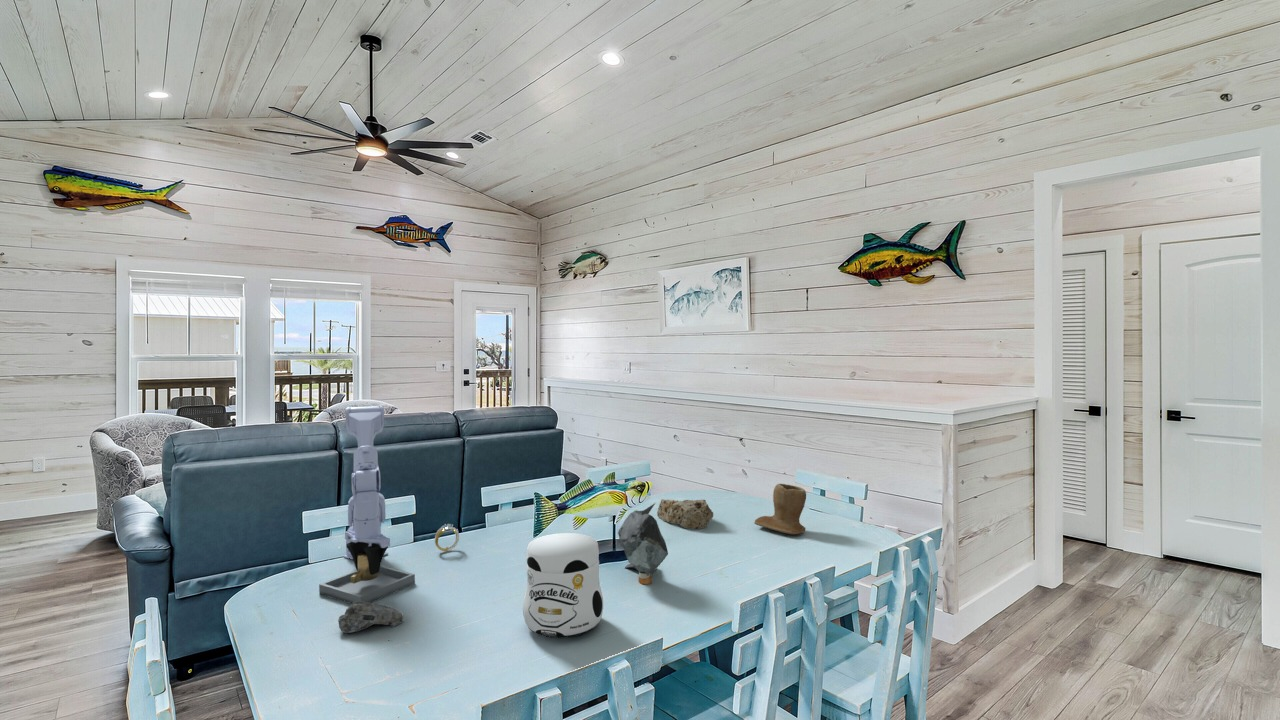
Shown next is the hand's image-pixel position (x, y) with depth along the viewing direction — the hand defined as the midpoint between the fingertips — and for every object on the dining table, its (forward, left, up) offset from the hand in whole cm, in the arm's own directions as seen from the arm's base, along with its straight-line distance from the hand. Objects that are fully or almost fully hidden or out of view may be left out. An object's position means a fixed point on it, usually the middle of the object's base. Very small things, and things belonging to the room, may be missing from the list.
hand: (367, 571), depth 151 cm
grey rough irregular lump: (+17, -13, -5) cm, 22 cm away
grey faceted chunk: (+58, +38, -5) cm, 69 cm away
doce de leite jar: (+55, +7, -5) cm, 56 cm away
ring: (-3, +29, -5) cm, 30 cm away
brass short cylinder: (0, 0, -2) cm, 2 cm away
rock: (+47, +89, -5) cm, 101 cm away
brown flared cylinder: (+79, +95, -5) cm, 124 cm away
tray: (0, 0, -4) cm, 4 cm away
